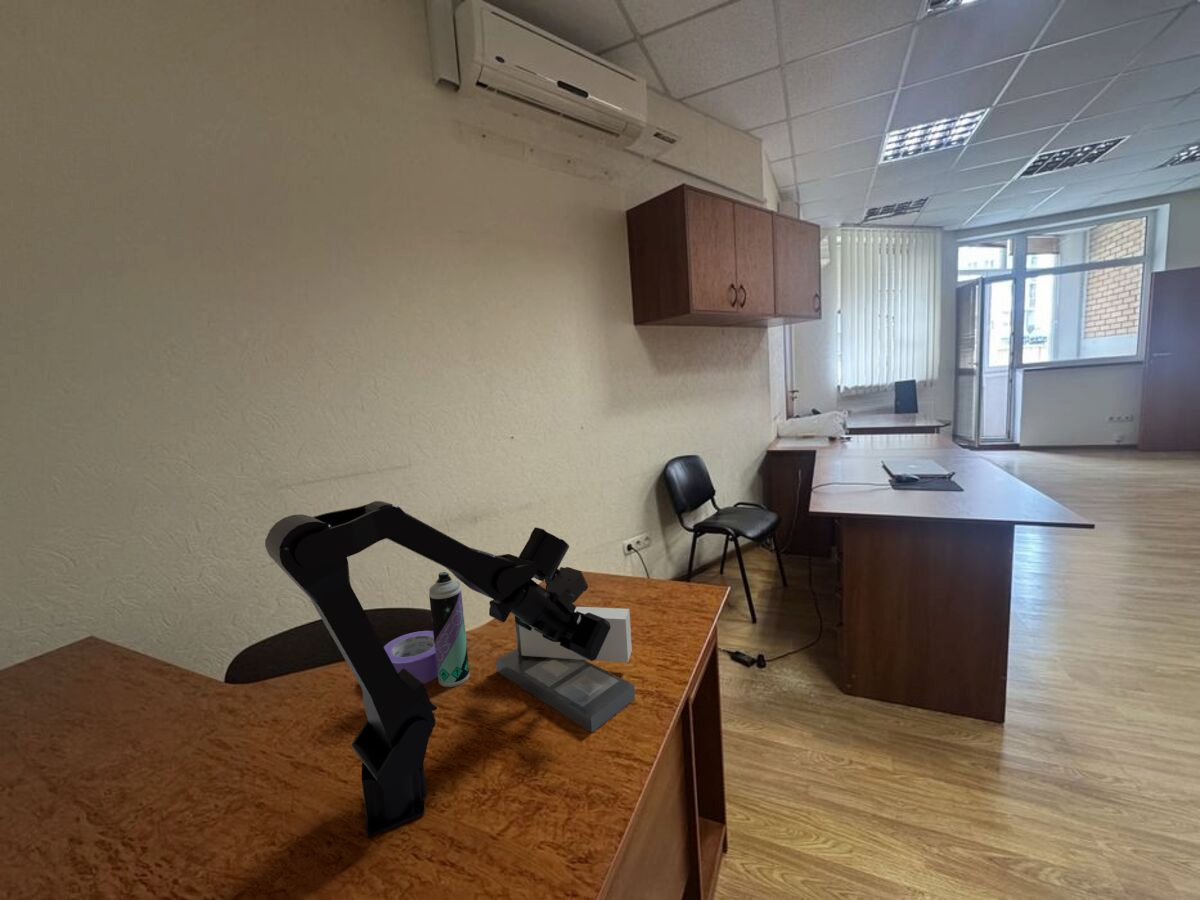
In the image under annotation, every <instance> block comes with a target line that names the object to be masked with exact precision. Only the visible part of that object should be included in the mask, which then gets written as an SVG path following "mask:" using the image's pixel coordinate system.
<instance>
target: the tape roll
mask: <svg viewBox="0 0 1200 900" xmlns="http://www.w3.org/2000/svg"><path fill="white" fill-rule="evenodd" d="M383 647H384V649H385V651H386V652H387V654H388V656H389V658H390V660H391V662H392V664H393V666H394V667H395V669H396V671H397V673H399V672H400V671H401V670H402V669H403V668H405V669H406V670H407V671H409V672H410V673H411V674H412V675H413V676H415V677H416V678H417V679H418V680H419V681H421V682H422V683H423V684H424V685H425V684H427V683H429V682H431V681H433V680H435V679H437V678H438V671H437V662H436V653H435V644H434V635H433V630H423V631H422V630H421V631H415V632H410V633H406V634H403V635H400V636H398V637H396V638H394V639H392V640H391V641H389V642H387V643H386V644H385V645H383Z"/></svg>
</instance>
